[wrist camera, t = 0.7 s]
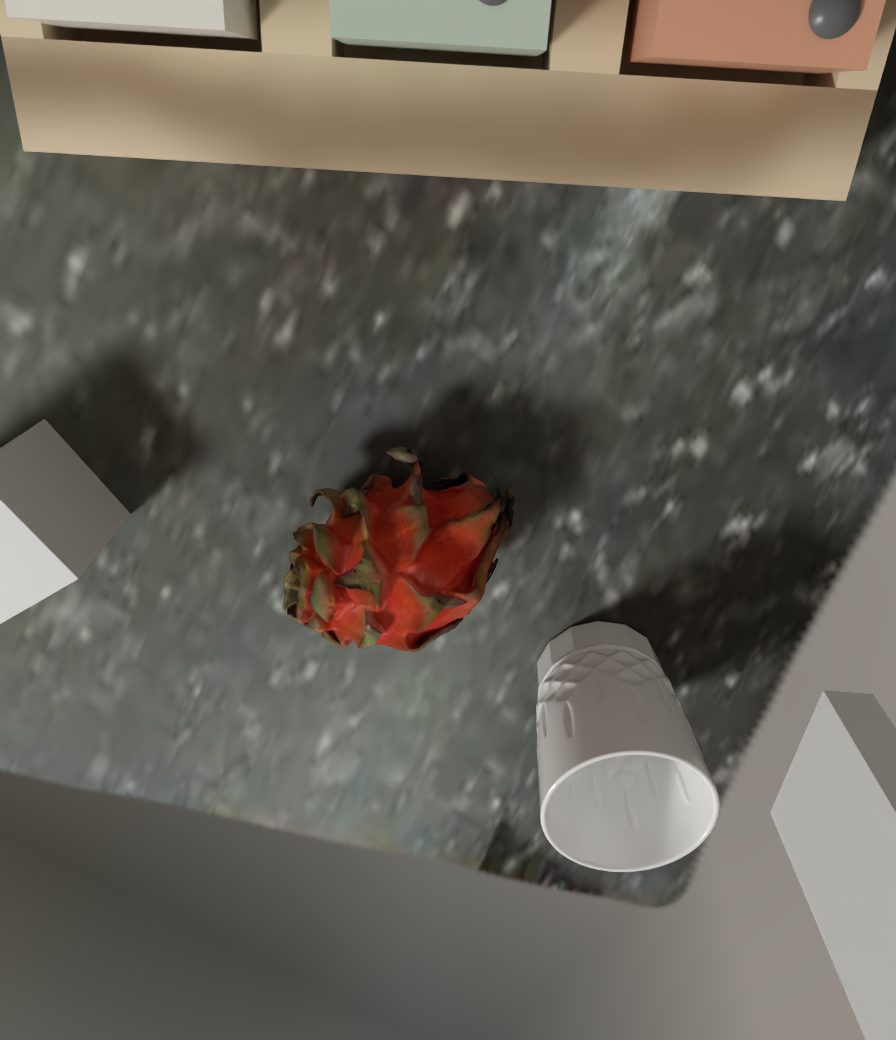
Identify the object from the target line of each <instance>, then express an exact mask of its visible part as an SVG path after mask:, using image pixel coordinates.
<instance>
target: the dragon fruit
mask: <svg viewBox="0 0 896 1040" xmlns="http://www.w3.org/2000/svg"><path fill="white" fill-rule="evenodd" d="M386 453H387V454H389V455H390V456H392V457H393V458H394V459H396V460H398V461H401V462H403V463H405V464H407V465H408V466H409V468H410V470H411V473H412V474H411V476H410V477H409V478H408V480H407V481H406V482H405V483H404V484H403V485H401V486H400V487H398V488H396V489H394V488H393V484H392V480H391V479H390V478H389V477H387V476H383V475H378V474H372V475H370V476H369V477H368V479H367V481H366V482H365V483H364V484H363V485H362V486H361V488H360V489H359V491H358V490H357V489H355V488H354V487H352V488H350V489H347V490H345V491H344V492H343V493H342V494H341V493H340V492H338V491H336V490H334V489H329V488H324V489H320V490H315V492H314V493H313V494H312V495H311V497H310V506H311V507H313V505H314V503H315V501H316V498H317V497H318V496H320V495H322V496H325V498H327V499H328V500H330V501H331V503H332V507H333V510H332V513H331V515H330V517H329V519H328V520H327V522H326V524H315V523H308V524H305V525H303V526H301V527H299V528H298V530H297V531H296V532H294V533H293V536H294V539H296V541H297V542H298V543H299V545H298V546H297V548H296V549H294V550H293V551H291V552H290V553H289V561H290V562H291V565H290V572H288V573H287V575H286V576H285V577H284V583H285V590H284V596H285V598H284V602H283V606H282V608H283V610H284V611H286V610H287V614H288V615H289V616H291V617H292V618H293V619H294V620H296V621H298V622H299V623H304V624H303V625H304V626H305V627H306V628H308V629H310V630H312V631H314V632H319V633H322V637H323V638H324V639H325V640H327V641H328V642H330V643H332V644H334V645H337V646H339V647H347V646H348V645H349V644H350V642H351V641H352V640H353V641H355V643H356V644H357V647H358V648H364V647H370V646H373V645H375V644H379V645H386V646H391V647H394V648H396V649H399V650H403V651H410V652H416V651H419V650H421V649H422V648H424V647H425V646H426V645H427V644H428V643H430V642H431V641H433V640H435V639H436V638H438V637H439V636H441V635H442V634H444V633H447V632H449V631H451V630H452V629H454V628H455V627H456V626H457V625H458V624H459V623H460V622H461V621H462V620H463V618H464V617H465V616H466V615H468V614H469V613H470V611H471V610H472V609H473V608H474V607H475V606H476V605H477V604H478V603H479V602H480V600H481V599H482V597H483V594H484V592H485V586H486V583H487V582H488V580H489V579H490V577H491V575H492V573H493V571H494V570H495V568H496V565H497V562H498V559H497V558H496V560H495V561H494V563H493V558H494V556H495V554H496V551H497V548H498V547H499V545H500V543H501V542H502V540H503V539H504V537H505V536H506V534H507V533H508V531H509V529H510V528H511V526H512V518H513V509H512V507H513V505H514V502H515V497H514V493H513V492H512V490H511V489H510V488H509V489H508V490H507V491H506V495H507V498H506V496H505V498H504V497H503V495H502V494H501V492H500V491H499V489H498V493H497V495H495V494H493V493H491V492H490V491H489V490H488V489H487V487H486V486H485V484H484V483H483V482H481V481H480V480H478V479H476V478H474V477H472V476H471V475H469V474H468V473H466V472H463V473H462V474H461V475H459V477H452V478H446V477H445V478H442V479H440V480H438V481H436V482H433V483H435V484H439V483H441V484H442V483H443V482H447V483H446V484H444V486H443V485H442V487H444V488H446V487H450V488H448V489H446V490H440V491H433V490H425V489H424V488H423V487H422V478H423V474H424V469H423V465H422V463H421V462H418V460H419V459H418V457H417V456H416V455H414V454H412V452H411V450H410V448H409V447H395V448H392V449H389V450H387V451H386ZM489 468H490V467H489ZM492 473H493V472H492ZM492 473H491V474H492ZM447 477H448V476H447ZM495 480H496V479H495ZM495 482H496V481H495ZM498 483H499V482H498ZM504 493H505V492H504ZM504 504H505V510H504V511H503V512H500V509H501V507H502V506H503V505H504ZM499 512H500V513H499ZM490 573H491V575H490ZM489 575H490V576H489ZM287 608H288V609H287Z"/></svg>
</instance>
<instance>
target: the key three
mask: <svg viewBox="0 0 896 1040" xmlns="http://www.w3.org/2000/svg"><path fill="white" fill-rule="evenodd" d="M885 2H886V0H635V6H634V13H633V20H632V27H631V34H630V41H629V48H628V54H627V61H626V63H641V64H657V65H673V66H689V67H705V68H721V69H738V70H754V71H770V72H786V73H802V74H821V73H834V72H848V71H861V70H867V66H868V63H869V59H870V55H871V52H872V48H873V45H874V41H875V37H876V34H877V30H878V27H879V23H880V20H881V16H882V12H883V9H884V5H885Z"/></svg>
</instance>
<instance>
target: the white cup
mask: <svg viewBox="0 0 896 1040" xmlns="http://www.w3.org/2000/svg"><path fill="white" fill-rule="evenodd" d="M537 677H538V701H537V704H536V711H537V756H538V772H539V794H540V817H541V825H542V829H543V831H544V834H545V836H546V838H547V839H548V841H549V842H550V843H551V845H552V846H553V847H554V848H555V849H556V850H557V851H558V852H560V853H561V854H562V855H564V856H565V857H567V858H568V859H570V860H572V861H574V862H576V863H578V864H581V865H584V866H586V867H590V868H594V869H598V870H604V871H613V872H632V871H641V870H647V869H652V868H656V867H660V866H663V865H666V864H668V863H671V862H673V861H676V860H678V859H680V858H682V857H683V856H685V855H687V854H688V853H690V852H691V851H693V850H694V849H696V848H697V847H698V846H699V845H700V844H701V843H702V842H703V841H704V840H705V839H706V838H707V837H708V836H709V834H710V833H711V831H712V830H713V828H714V826H715V824H716V822H717V819H718V815H719V807H720V804H719V796H718V793H717V790H716V788H715V785H714V783H713V781H712V778H711V776H710V773H709V771H708V769H707V766H706V764H705V761H704V759H703V757H702V754H701V752H700V749H699V747H698V745H697V742H696V740H695V737H694V735H693V732H692V730H691V728H690V725H689V723H688V720H687V718H686V716H685V714H684V713H683V710H682V708H681V705H680V703H679V700H678V698H677V696H676V694H675V692H674V690H673V687H672V685H671V683H670V681H669V679H668V677H667V676H666V675H665V674H664V672H663V669H662V667H661V664H660V662H659V659H658V657H657V655H656V653H655V652H654V650H653V648H652V646H651V644H650V643H649V641H648V639H647V638H646V637H645V636H643V635H641V634H640V633H638V632H636V631H635V630H633V629H632V628H630V627H628V626H627V625H624V624H617V623H610V622H603V621H595V622H591V623H586V624H582V625H577V626H573V627H570V628H569V629H567V630H566V631H564V632H563V633H561V634H560V635H558V636H557V637H555V638H554V639H552V640H551V641H549V643H548V645H547V646H546V648H545V650H544V651H543V653H542V655H541V656H540V658H539V660H538V662H537Z"/></svg>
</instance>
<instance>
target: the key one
mask: <svg viewBox="0 0 896 1040" xmlns="http://www.w3.org/2000/svg"><path fill="white" fill-rule="evenodd" d="M4 1H5V6H6V11H7V16H8V17H11V18H16V19H22V20H27V21H33V22H38V23H44V24H49V25H55V26H61V27H66V28H75V29H91V30H107V31H123V32H139V33H155V34H172V35H188V36H204V37H220V38H236V39H252V40H258V30H257V13H256V0H4Z"/></svg>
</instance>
